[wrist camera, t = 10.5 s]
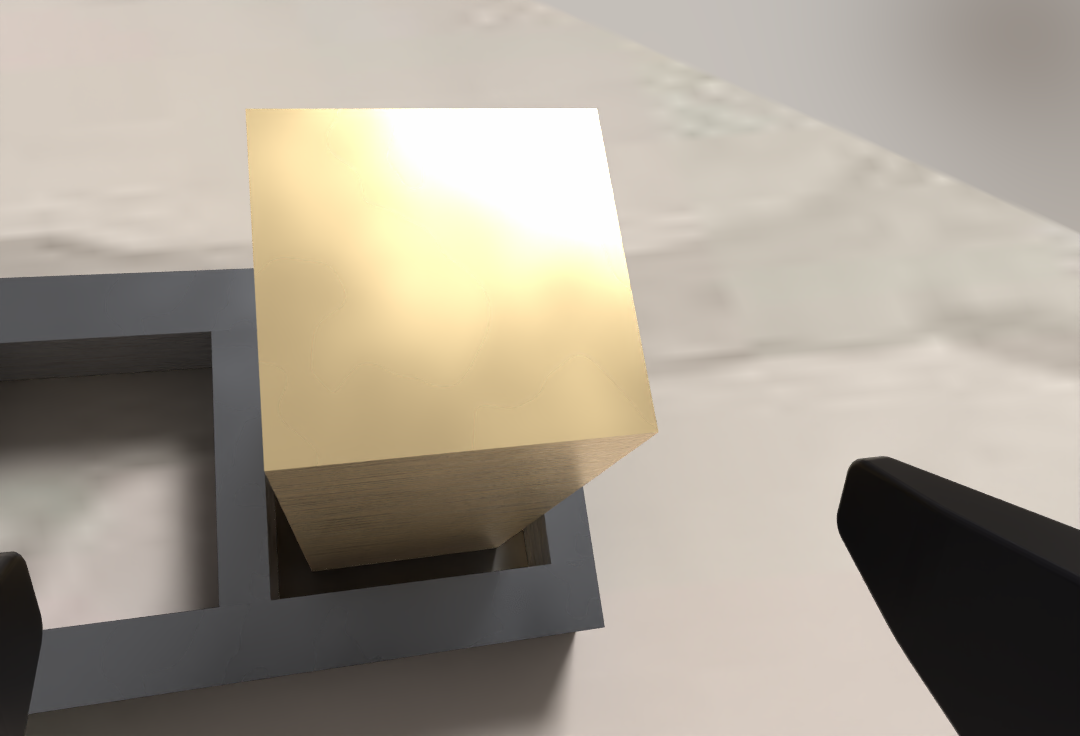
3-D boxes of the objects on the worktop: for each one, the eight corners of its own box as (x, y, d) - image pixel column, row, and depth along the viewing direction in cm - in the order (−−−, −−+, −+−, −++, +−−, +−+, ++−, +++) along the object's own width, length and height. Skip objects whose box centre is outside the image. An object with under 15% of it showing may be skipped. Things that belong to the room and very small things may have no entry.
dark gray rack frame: (576, 629, 21) (604, 627, 19) (-122, 734, 17) (-195, 747, 15) (527, 295, 24) (546, 256, 21) (-89, 326, 20) (-147, 283, 18)
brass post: (497, 548, 21) (657, 432, 10) (312, 571, 20) (264, 471, 9) (474, 378, 22) (596, 109, 11) (300, 391, 21) (245, 109, 10)
